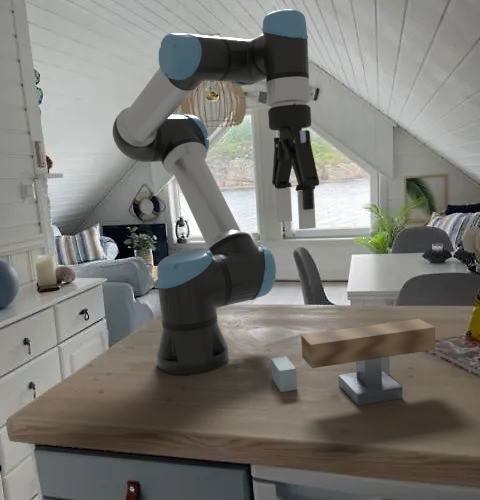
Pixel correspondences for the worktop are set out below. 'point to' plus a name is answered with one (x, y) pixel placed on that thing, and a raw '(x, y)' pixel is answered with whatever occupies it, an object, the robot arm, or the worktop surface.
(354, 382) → the fulcrum
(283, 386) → the posts
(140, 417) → the worktop surface
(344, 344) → the plank
